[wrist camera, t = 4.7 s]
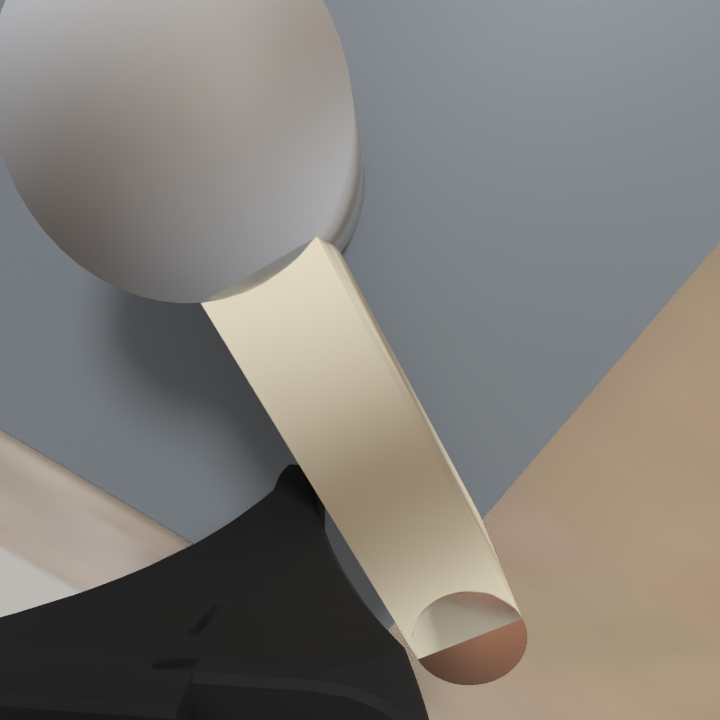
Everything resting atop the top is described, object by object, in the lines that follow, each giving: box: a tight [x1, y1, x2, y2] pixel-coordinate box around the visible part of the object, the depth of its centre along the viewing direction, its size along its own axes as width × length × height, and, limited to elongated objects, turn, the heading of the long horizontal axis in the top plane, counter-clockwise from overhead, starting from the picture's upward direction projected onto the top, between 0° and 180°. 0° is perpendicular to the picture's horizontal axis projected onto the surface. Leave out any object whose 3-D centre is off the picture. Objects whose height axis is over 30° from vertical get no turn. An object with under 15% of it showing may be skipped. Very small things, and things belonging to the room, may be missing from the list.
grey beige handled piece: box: [0, 0, 527, 685], centre depth 8 cm, size 13×5×4 cm, turn 28°
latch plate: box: [0, 0, 720, 630], centre depth 11 cm, size 20×20×2 cm
